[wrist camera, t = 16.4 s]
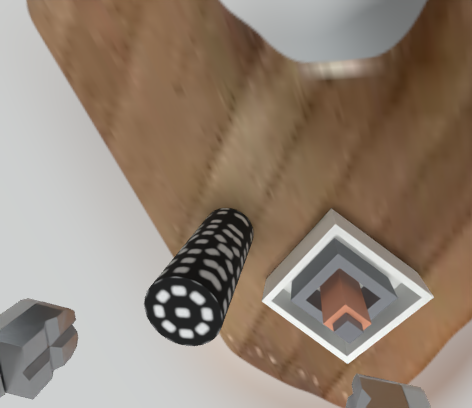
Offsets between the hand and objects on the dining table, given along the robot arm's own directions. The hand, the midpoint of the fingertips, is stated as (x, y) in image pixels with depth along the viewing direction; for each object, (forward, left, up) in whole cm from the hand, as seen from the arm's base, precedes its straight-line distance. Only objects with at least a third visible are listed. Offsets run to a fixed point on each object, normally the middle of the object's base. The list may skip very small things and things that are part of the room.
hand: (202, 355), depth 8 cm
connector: (-11, +18, -36) cm, 42 cm away
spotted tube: (+7, +14, -37) cm, 40 cm away
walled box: (-11, +18, -37) cm, 43 cm away
